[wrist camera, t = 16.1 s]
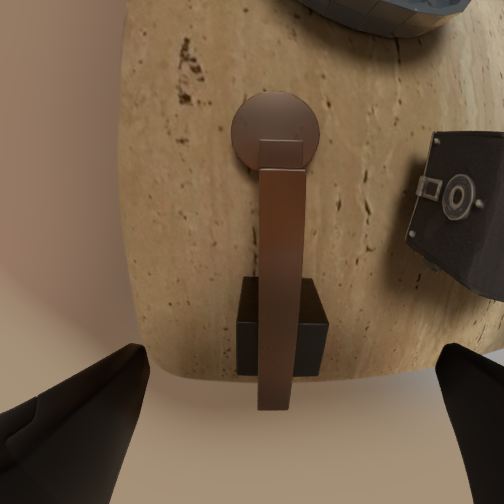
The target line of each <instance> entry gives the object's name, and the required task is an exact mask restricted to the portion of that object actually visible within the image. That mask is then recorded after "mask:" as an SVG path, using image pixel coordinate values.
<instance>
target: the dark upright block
mask: <svg viewBox="0 0 504 504" xmlns="http://www.w3.org/2000/svg"><path fill="white" fill-rule="evenodd" d="M258 325H259V277H246V276H244V277H243V282H242V289H241V295H240V301H239V308H238V314H237V321H236V373H237V375H242V376H258ZM328 327H329V322H328V319H327V317H326V314H325V311H324V309H323V306H322V303H321V301H320V298H319V295H318V293H317V290H316V288H315V285H314V282H313V280H312V279H308V278H302V280H301V294H300V306H299V318H298V329H297V340H296V350H295V359H294V368H293V377H309V376H318V375H319V371H320V366H321V362H322V357H323V352H324V347H325V342H326V337H327V332H328Z"/></svg>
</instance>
